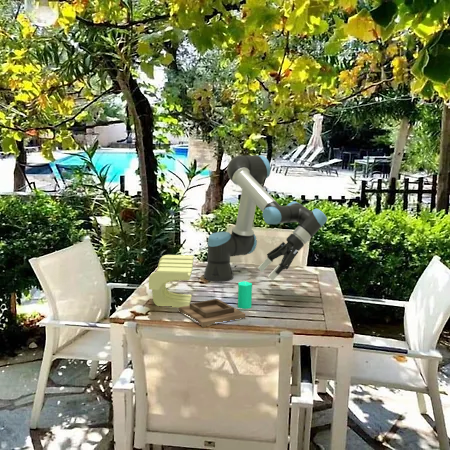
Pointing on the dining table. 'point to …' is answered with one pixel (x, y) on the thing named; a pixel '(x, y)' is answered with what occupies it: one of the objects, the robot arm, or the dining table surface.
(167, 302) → the slatted curved stool
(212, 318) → the brown square tray
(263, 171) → the robot arm
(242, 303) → the candle
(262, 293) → the dining table surface
